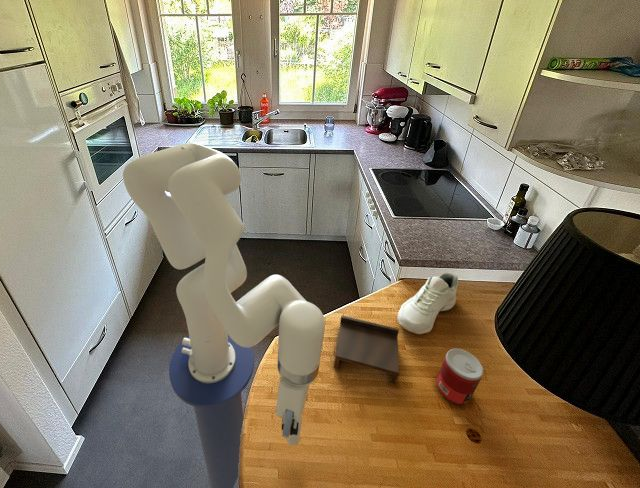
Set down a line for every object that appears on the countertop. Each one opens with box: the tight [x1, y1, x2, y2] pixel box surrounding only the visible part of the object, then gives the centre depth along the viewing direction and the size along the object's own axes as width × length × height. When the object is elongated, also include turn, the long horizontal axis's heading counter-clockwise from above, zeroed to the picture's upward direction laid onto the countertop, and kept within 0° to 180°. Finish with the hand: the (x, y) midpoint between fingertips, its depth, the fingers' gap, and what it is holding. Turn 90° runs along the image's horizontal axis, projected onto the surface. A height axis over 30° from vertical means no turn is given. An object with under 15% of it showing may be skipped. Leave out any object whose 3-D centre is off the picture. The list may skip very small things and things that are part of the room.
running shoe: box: [396, 272, 459, 335], centre depth 101 cm, size 11×27×14 cm, turn 130°
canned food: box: [436, 348, 484, 405], centre depth 80 cm, size 8×8×11 cm
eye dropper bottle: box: [284, 416, 303, 446], centre depth 67 cm, size 4×6×12 cm
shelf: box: [333, 315, 400, 385], centre depth 89 cm, size 16×12×7 cm
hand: (293, 413), depth 67 cm, fingers closed on eye dropper bottle, 5 cm apart
